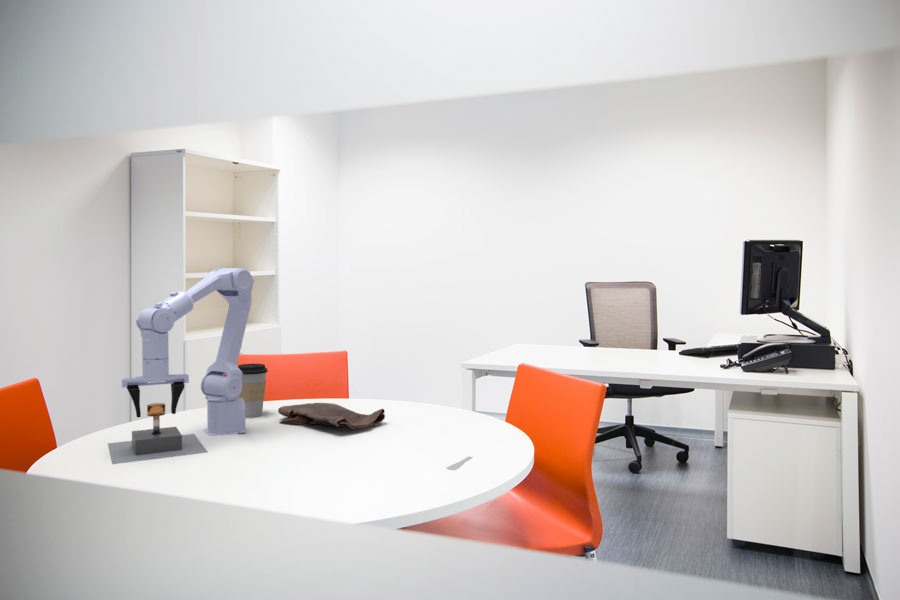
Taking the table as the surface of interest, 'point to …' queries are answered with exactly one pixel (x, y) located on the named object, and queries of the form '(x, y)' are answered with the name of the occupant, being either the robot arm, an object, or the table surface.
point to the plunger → (156, 415)
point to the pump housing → (156, 441)
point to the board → (125, 453)
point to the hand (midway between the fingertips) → (156, 414)
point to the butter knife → (458, 464)
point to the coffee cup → (253, 388)
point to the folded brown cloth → (329, 415)
